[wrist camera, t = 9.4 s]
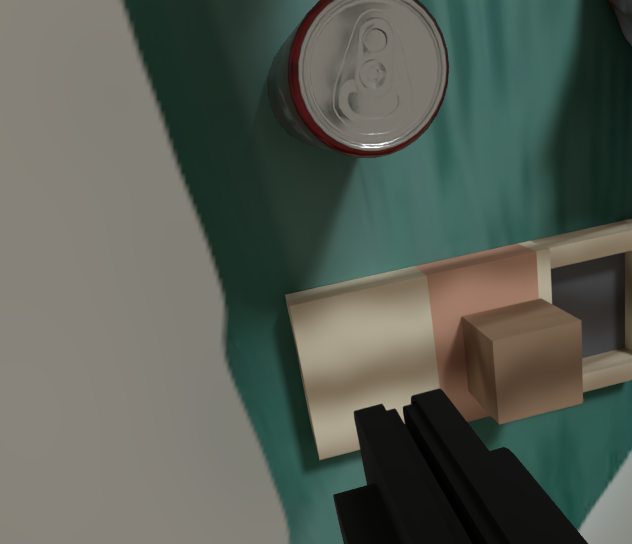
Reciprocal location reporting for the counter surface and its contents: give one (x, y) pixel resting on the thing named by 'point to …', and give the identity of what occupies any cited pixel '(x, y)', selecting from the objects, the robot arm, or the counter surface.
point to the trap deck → (453, 324)
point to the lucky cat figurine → (624, 16)
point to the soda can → (360, 76)
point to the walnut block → (523, 359)
